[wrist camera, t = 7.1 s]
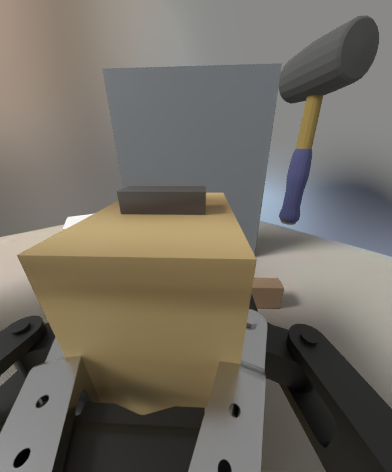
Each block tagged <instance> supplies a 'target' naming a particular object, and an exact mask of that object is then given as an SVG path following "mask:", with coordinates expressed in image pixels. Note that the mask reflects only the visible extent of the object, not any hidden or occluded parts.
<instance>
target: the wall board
mask: <svg viewBox="0 0 392 472" xmlns="http://www.w3.org/2000/svg"><path fill="white" fill-rule="evenodd" d="M281 66H282V64H252V65H217V66H216V65H215V66H184V67H183V66H181V67H149V68H148V67H147V68H114V69H103V75H104V80H105V86H106V92H107V98H108V104H109V110H110V116H111V122H112V127H113V133H114V139H115V145H116V150H117V157H118V163H119V168H120V174H121V180H122V186H123V189H124V188H126V187H129V186H206V193H224V195H225V197H226V199H227V201H228V203H229V205H230V207H231V209H232V211H233V213H234V215H235V217H236V219H237V221H238V223H239V225H240V227H241V229H242V231H243V233H244V235H245V237H246V239H247V241H248V243H249V245H250V247H251V249H252V251H253V253H254V255H255V249H256V242H257V235H258V228H259V220H260V213H261V206H262V199H263V192H264V185H265V178H266V171H267V164H268V157H269V150H270V143H271V136H272V129H273V122H274V115H275V108H276V101H277V94H278V87H279V80H280V73H281ZM283 291H284V287H283V286H282V284H281V282H280V281H279V279H278V278H254V280H253V286H252V296H253V299H254V302H255V305H256V307H257V308H280V304H281V300H282V295H283Z"/></svg>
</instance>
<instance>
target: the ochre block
mask: <svg viewBox="0 0 392 472" xmlns="http://www.w3.org/2000/svg"><path fill="white" fill-rule="evenodd" d="M117 195H118V201H117V202H115V203H114V204H111V205H110V206H108V207H106V208H104V209H102V210H100V211H98V212H97V213H95V214H93V215H91V216H89V217H87V218H85V219H83V220H82V221H80V222H78V223H76V224H74V225H72V226H70V227H69V228H67V229H65V230H63V231H61V232H59V233H57V234H56V235H54V236H52V237H50V238H48V239H46V240H44V241H43V242H41V243H39V244H37V245H35V246H33V247H31V248H29V249H28V250H26V251H24V252H22V253H20V254H18V255H17V256H18V258H19V261H20V263H21V265H22V267H23V269H24V271H25V273H26V275H27V278H28V280H29V282H30V284H31V286H32V288H33V290H34V292H35V295H36V297H37V299H38V301H39V303H40V305H41V307H42V309H43V312H44V314H45V316H46V318H47V320H48V322H49V324H50V326H51V329H52V331H53V333H54V335H55V337H56V339H57V341H58V343H59V346H60V348H61V350H62V352H63V354H64V356H65V357H73V356H81V357H82V359H83V361H84V364H85V366H86V368H87V371H88V373H89V376H90V378H91V380H92V383H93V385H94V388H95V390H96V392H97V395H98V397H99V400H100V402H101V403H115V404H117V405H119V406H122V407H124V408H126V409H128V410H131V411H133V412H135V413H137V414H140V415H146V414H149V413H153V412H156V411H160V410H163V409H167V408H170V407H174V406H181V407H202V408H205V411H206V407H207V404H208V400H209V397H210V393H211V390H212V386H213V383H214V379H215V376H216V372H217V368H218V365H219V362H220V361H223V362H231V363H236V364H241V358H242V351H243V345H244V338H245V332H246V325H247V319H248V312H249V306H250V299H251V293H252V286H253V280H254V273H255V267H256V260H257V259H256V257H255V255H254V253H253V251H252V249H251V247H250V245H249V243H248V241H247V239H246V237H245V235H244V233H243V231H242V229H241V227H240V225H239V223H238V221H237V219H236V217H235V215H234V213H233V211H232V209H231V207H230V205H229V203H228V201H227V199H226V197H225V195H224V193H206V186H129V187H126V188H124V189H122V190H119V191H117Z"/></svg>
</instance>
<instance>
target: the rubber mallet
mask: <svg viewBox="0 0 392 472" xmlns="http://www.w3.org/2000/svg"><path fill="white" fill-rule="evenodd" d="M378 44H379V32H378V27H377V25H376V23H375V22H374V20H373V19H372V18H371V17H369V16H358V17H356V18H354V19H352V20H351V21H349V22H347V23H345V24H344V25H342V26H340V27H338V28H336V29H334V30H333V31H331V32H329V33H328V34H326V35H324V36H323V37H321V38H319V39H318V40H316V41H314V42H313V43H311V44H310V45H309V46H307V47H306V48H305V49H303V50H302V51H301V52H300V53H298V54H297V55H296V56H294V57H293V58H292V59H291V60H289V61H288V63H287V64H286V65H285V66H284V68H283V70H282V72H281V74H280V80H279V91H280V94H281V97H282V98H283V99H284V100H285V101H286V102H289V103H297V102H301V101H306V103H305V107H304V112H303V117H302V122H301V128H300V132H299V137H298V141H297V147H296V149H295V151H294V153H293V156H292V159H291V162H290V166H289V170H288V175H287V185H286V193H285V198H284V203H283V207H282V209H281V212H280V215H279V217H280V220H281V222H282V223H284V224H290V225H291V224H295V223H296V222H297V221H298V220H299V217H300V204H301V200H302V195H303V191H304V188H305V185H306V182H307V180H308V176H309V171H310V166H311V159H312V144H313V139H314V135H315V131H316V126H317V122H318V117H319V112H320V108H321V103H322V99H323V95H326V94H328V93H331V92H333V91H336V90H338V89H340V88H343V87H345V86H348V85H350V84H352V83H354V82H356V81H357V80H359V79H361V78H362V77H363V76H364V74H365V73H366V72H367V71H368V70H369V68H370V66H371V65H372V63H373V61H374V58H375V56H376V53H377V49H378Z"/></svg>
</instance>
